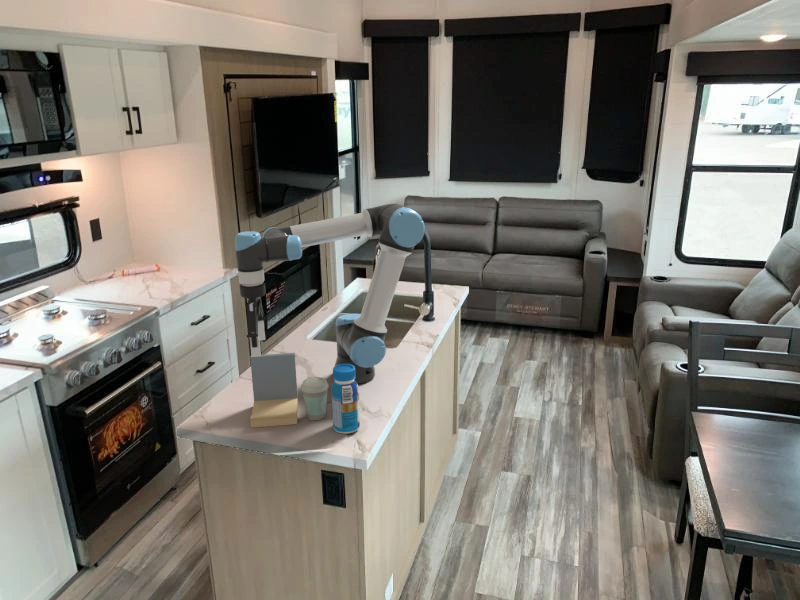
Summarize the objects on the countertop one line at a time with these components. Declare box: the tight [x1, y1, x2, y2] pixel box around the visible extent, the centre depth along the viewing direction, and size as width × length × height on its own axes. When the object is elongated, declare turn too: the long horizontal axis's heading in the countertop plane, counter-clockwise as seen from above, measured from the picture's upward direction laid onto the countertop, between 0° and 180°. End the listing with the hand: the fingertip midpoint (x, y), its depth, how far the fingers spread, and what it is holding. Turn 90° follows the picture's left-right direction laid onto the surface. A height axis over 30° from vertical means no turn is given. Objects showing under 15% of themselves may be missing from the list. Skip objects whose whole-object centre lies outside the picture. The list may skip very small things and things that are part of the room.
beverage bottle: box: [330, 364, 361, 435], centre depth 178 cm, size 8×8×20 cm
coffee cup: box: [300, 376, 329, 421], centre depth 186 cm, size 8×8×12 cm
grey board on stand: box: [249, 352, 299, 429], centre depth 186 cm, size 14×15×18 cm
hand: (258, 347), depth 186 cm, fingers open, 13 cm apart
